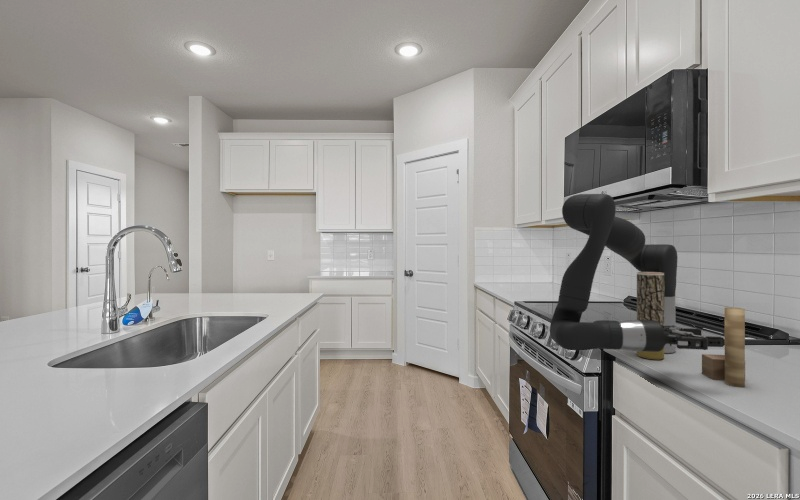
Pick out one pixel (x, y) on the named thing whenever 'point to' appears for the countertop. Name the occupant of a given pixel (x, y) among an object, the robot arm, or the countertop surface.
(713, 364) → the wooden block
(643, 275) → the brown bark cylinder
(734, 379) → the dowel
